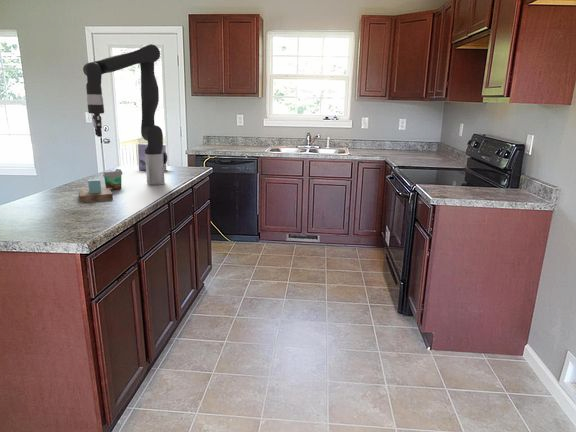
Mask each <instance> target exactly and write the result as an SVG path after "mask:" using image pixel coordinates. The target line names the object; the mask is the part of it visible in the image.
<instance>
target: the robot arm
mask: <svg viewBox="0 0 576 432" xmlns="http://www.w3.org/2000/svg"><path fill="white" fill-rule="evenodd" d="M160 57H161V50H160V49H159V47H158V46H156V45H155V44H153V43H152V44H151V43H146V44H144V45H142V46H141V47H140V48H138V49H136V50H133V51H131V52H126V53H125V52H124V53H120V54H117V55H113V56H108V57H105V58H103V59H100V60H99V59H98V60H96V61H90V62H87V63H85V64H84V65H83V67H82V71H83V73H84V75H85V76H86V81H87V82H86V85H85V87H86V89H85V90H86V102H87V103H86V104H87V113H88V114H93V115H92V124H93V127H94V133H95V135H94V136H96V137H98V138H101V137H103V133H102V129H103V123H102V116H101V115H102V114H105V107H104V98H103V92H102V90H103V89H102V75H104V74H108V73H109V74H110V73H113V72H117V71H120V70H124V69H126V68H128V67H132V66H134V65H139V67H140V98H141V123H140V124H141V126H140V134H141V137H142V139H143V140H145V141H147V144H148V146H147V148H146V149H145V161H146V170H145V172H146V175H145V176H146V184H147V185H151V186H159V185H164V184H165V171H164V167H163V163H162V149H163V145H164V136H163V135H164V134H163V130H162V128H161V127H160V126H158V125H156V124H155V115H156V110H157V108H158V105H159V101H160V100H159V99H160V95H159V90H160V89H159V86H158V81H157V79H156V76H155V62H157V61H158V60H159V58H160Z"/></svg>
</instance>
